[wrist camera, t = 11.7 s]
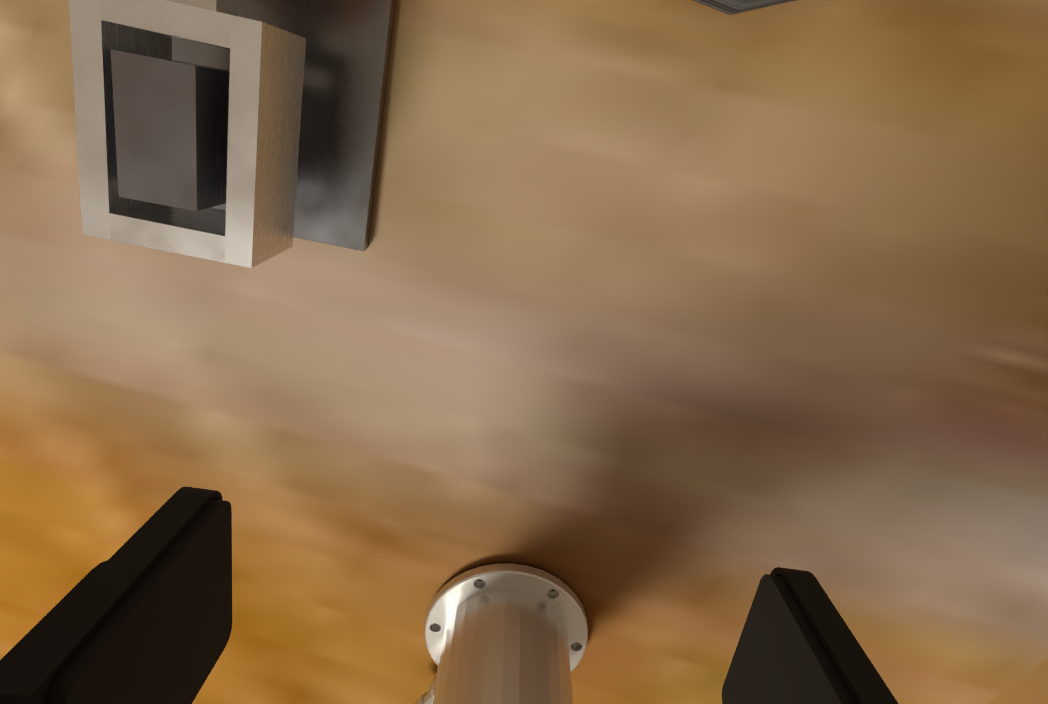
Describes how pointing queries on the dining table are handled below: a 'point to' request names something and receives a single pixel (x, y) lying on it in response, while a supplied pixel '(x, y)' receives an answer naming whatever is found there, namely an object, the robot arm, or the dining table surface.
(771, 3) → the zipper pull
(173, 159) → the grey block
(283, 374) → the dining table surface
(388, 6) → the grey boxy fixture
